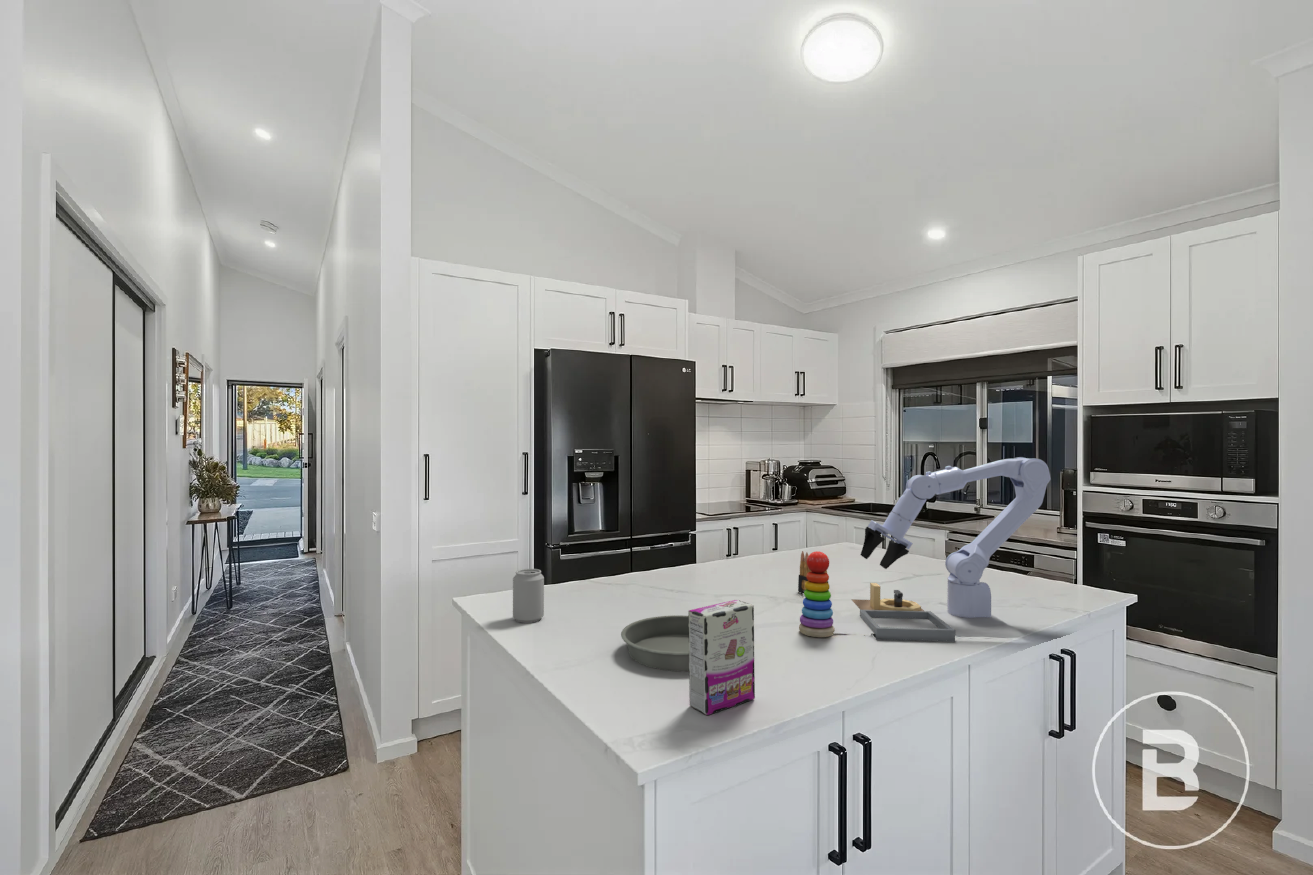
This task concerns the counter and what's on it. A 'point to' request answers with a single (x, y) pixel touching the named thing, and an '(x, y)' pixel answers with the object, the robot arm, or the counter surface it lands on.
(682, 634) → the cake pan
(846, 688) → the counter surface
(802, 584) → the ammunition clip
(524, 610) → the can
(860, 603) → the stake board
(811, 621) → the stacking toy
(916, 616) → the tray
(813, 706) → the counter surface
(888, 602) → the ring
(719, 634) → the candy bar box
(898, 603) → the stake
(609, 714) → the counter surface
